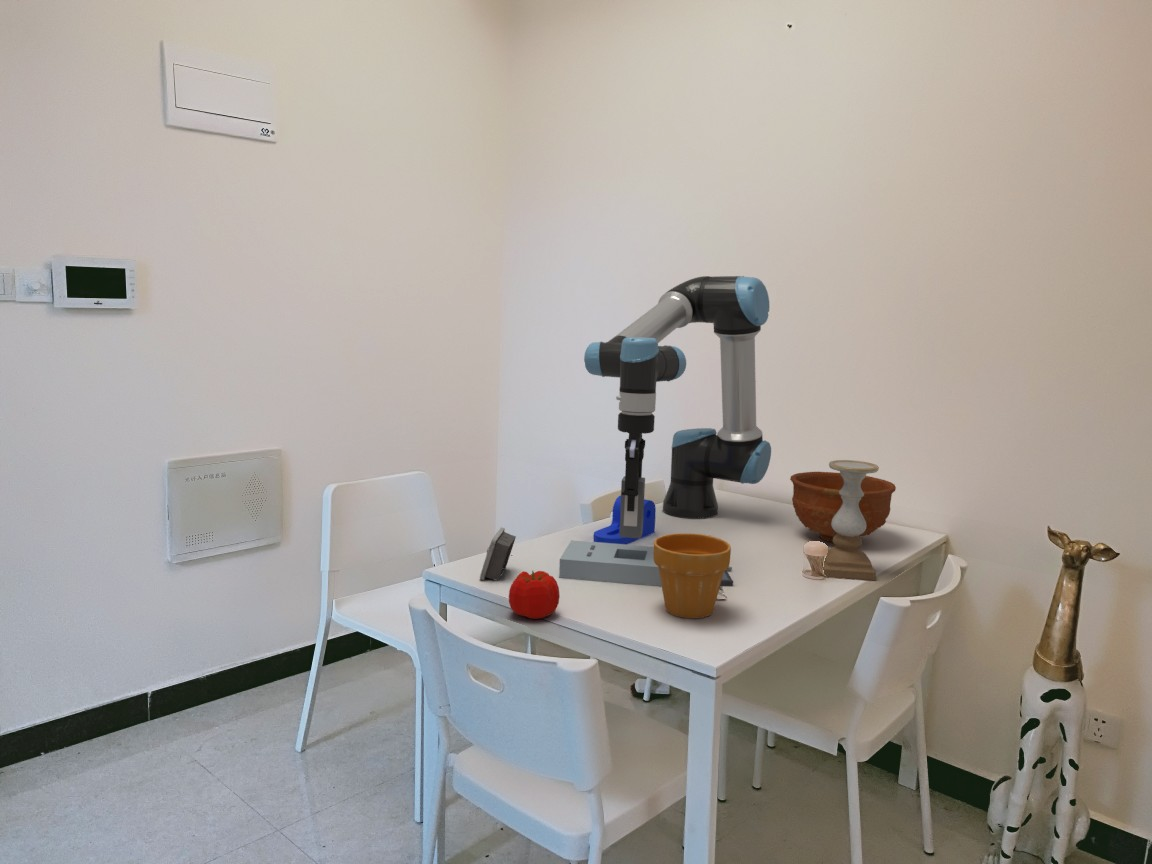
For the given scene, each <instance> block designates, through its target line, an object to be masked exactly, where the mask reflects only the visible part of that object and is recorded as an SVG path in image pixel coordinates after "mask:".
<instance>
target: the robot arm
mask: <svg viewBox="0 0 1152 864" xmlns="http://www.w3.org/2000/svg"><path fill="white" fill-rule="evenodd" d="M657 302H658V303H657V304H656V305H654V306H653V307H652V308H651V309H648V311H646V312H645V313H644V314H642V315H641V316H640V317H639V318H637V319H636V320H635V321H633V322H632V323H631V324H629V325H628V326H627V327H625V328H624V329H623V330H622V331H620V332H619V333H618V334H616V335H615V336H613V337H612V338H611V339H609V340H608V341H606V342H604V341H596V342H595V341H594V342H591V343H589V344H588V346H587V347H586V349H585V352H584V356H583V359H584V361H583V362H584V368H586V370H587V372H588V373H589V374H590V375H592V376H599V377H602V378H605V377H609V378H619V389H618V390H619V393H618V395H616V397H615V399H616V400H617V401H619V402H618V410H619V411H620V412H619V414H617V416H618V417H617V430H618V431H620V432H622V433H628V438H626V440H625V441H624V449H625V455H624V456H625V457H624V461H625V471H624V472H625V475H624V476H625V490H624V492H622V495H625V506H624V526H635V527H637V514H638V478H639V477H642V476H643V475H642V474H643V473H642V472H643V460H644V456H645V448H646V439H644V438H643V434H651V433H653V432H654V431H655V417H656V416H655V415H654V414H653V413H654V412H656V405H657V404H656V401H657V398H656V397H657V392H656V391H657V383H658V382H671V381H674V380H676V379H679V378H680V377H682V375H683V374H684V373H685V371H686V368H687V359H686V355H685V353H684V352H683V350H682V349H680V348H679V347H677V346H672V345H659V343H660V342H662V341H663V340H664V339H666V337H668V336H669V335H670V334H671V333H672V332H674V331H675V330H676V329H681V328H684V327H686V326H687V325H689V324H693V323H694V324H695V323H705V324H713V333H714V335H716V336H717V337H718V338H719V342H720V343H719V345H720V347H719V349H720V351H719V352H720V372H721V373H720V374H721V375H720V377H721V378H720V379H721V382H720V383H721V407H722V412H721V413H722V427H721V428H720V429H719V430H718V431H717V430H716V428H711V427H710V428H707V427H701V428H700V427H698V428H689V429H681V430H678V431H676V432H674V434H673V435H672V436H673V437H672V441H671V442H672V443H671V459H670V460H671V463H670V483H669V486H668V488H667V491H666V494H665V495H664V496H665V497H664V499H663V503H662V511H663V513H665V514H667V515H670V516H672V517H678V518H684V519H686V518H687V519H707V518H708V519H709V518H713V517H715V516H718V513H719V504H718V499H717V496H716V493H715V489H714V479H716V480H723V481H730V482H734V483H740V484H751V485H755V484H758V483H760V482H761V481H762V480H763V478H764V477H765V475H766V473H767V471H768V469H769V465H770V462H771V456H772V446H771V443H770V442H769V441H767V440H763V439H764V438H763V430H761V429H760V428H759V426H757V395H756V394H757V392H756V391H757V390H756V389H757V388H756V385H757V383H756V382H757V381H756V379H757V378H756V339H755V338H756V336H757V335H758V334H759V333H760V332H761V330H762V328H761V327H762V326H763V325H765V324H766V323H767V321H768V319H769V312H770V297H769V293H768V290H767V286H766V285H765V284H764V283H763V281H762V280H761V279H759V278H757V277H753V276H752V277H751V276H744V275H741V276H740V275H739V276H737V275H735V276H734V275H733V276H732V275H731V276H728V275H726V276H722V275H719V276H708V275H707V276H706V275H704V276H698V277H694V278H692V279H688V280H686V281H684V282H681V283H679V284H677V285H676V286H674V287H672V288H670V289H669V290H667V291H666V292H664V294H662V295H661V296H660V297H659V300H658V301H657ZM642 478H643V477H642Z"/></svg>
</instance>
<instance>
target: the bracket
mask: <svg viewBox="0 0 1152 864" xmlns="http://www.w3.org/2000/svg"><path fill="white" fill-rule="evenodd" d="M620 507H621V494H620V495H619V496H617V498H616V499H615V501H614V503H613V506H612V518H611V523H610V525H609V526H605V527H603V528H600V529H598V530H595V531H594V532H593V541H592V542H601V543H614V544H627V545H630V544H632V543H633V542H636V541H639V540H640V539H643V538H645V537H648V536H651V535H653V534H654V533H655V532H656V531H655V530H656V513H657V512H656V511H657V509H656V505H655V502H654V501H653V500H651V499H650V500H649V499H645V498H644V514H643V533H642V536H641V538H628V537H619V530H620Z"/></svg>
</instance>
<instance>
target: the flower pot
mask: <svg viewBox="0 0 1152 864" xmlns="http://www.w3.org/2000/svg"><path fill="white" fill-rule="evenodd" d="M653 547H654V563H655V564H656V565H657V566H658V568H659V573H660V579H661V585H662V586H661V591H662V595H663V596H662V597H663V601H664V607H665V610H666V611H667V612H668V613H669V614H671V615H673V616H675V617H678V618H684V619H701V618H706V617H708V616H711V615H713V612H714V610H715V605H716V602H717V599H718V595H719V591H720V587H721V586H720V584H721V580H722V576H723V573H724V571H725V570H726V569H727V568H728V567H730V563H731V555H732V547H731V544H730V543H729V542H728V541H726V540H724V539H722V538H720V537H716V536H713V535H708V534H701V533H687V532H686V533H685V532H684V533H683V532H682V533H681V532H680V533H670V534H665V535H661V536H657V537H656V538H655V539H654V541H653Z"/></svg>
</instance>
